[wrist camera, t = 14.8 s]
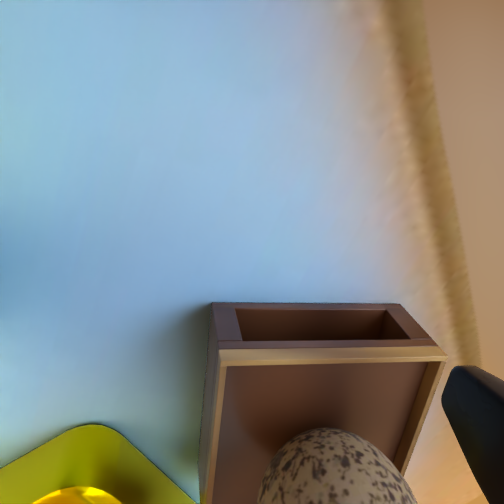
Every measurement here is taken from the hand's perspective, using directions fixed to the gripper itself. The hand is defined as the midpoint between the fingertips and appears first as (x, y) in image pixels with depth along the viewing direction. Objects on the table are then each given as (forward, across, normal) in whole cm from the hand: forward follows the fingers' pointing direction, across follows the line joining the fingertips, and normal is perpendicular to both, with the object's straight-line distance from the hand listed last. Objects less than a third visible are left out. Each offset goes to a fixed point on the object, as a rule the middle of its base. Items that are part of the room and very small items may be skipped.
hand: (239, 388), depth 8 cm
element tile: (+13, +7, +24) cm, 28 cm away
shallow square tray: (+13, -6, +12) cm, 19 cm away
